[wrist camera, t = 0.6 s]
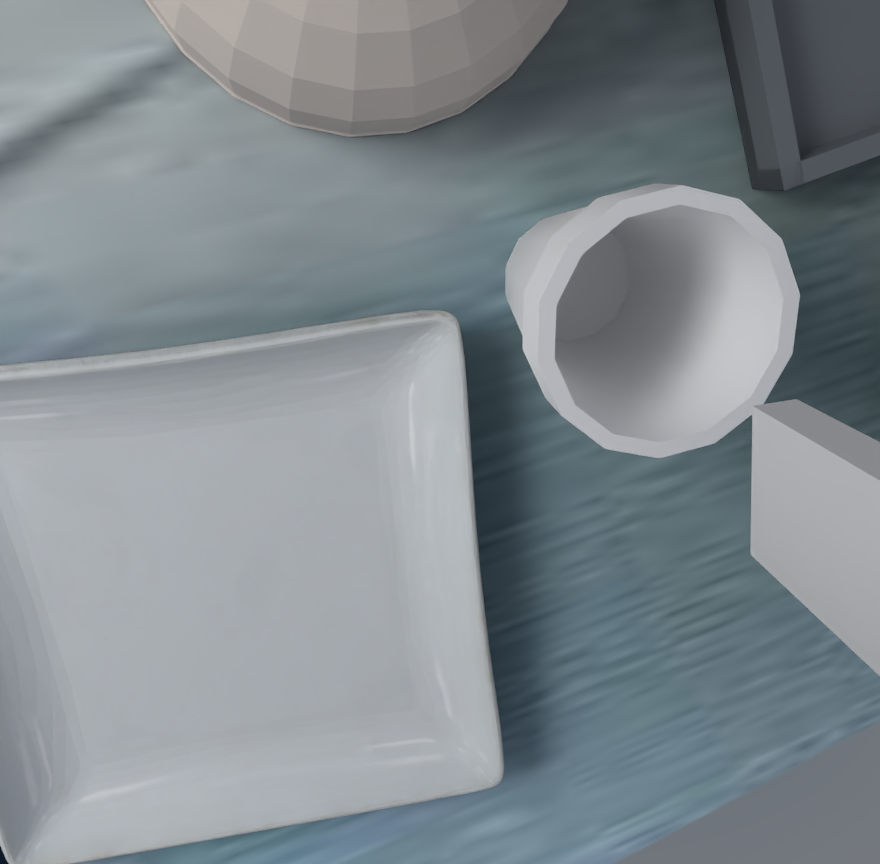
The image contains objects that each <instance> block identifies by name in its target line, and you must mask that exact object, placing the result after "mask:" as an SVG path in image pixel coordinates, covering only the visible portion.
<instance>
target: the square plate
mask: <svg viewBox="0 0 880 864" xmlns="http://www.w3.org/2000/svg"><path fill="white" fill-rule="evenodd" d="M503 777H504V754H503V743H502V734H501V726H500V718H499V711H498V704H497V697H496V690H495V683H494V676H493V669H492V662H491V655H490V647H489V639H488V630H487V622H486V615H485V607H484V598H483V589H482V580H481V571H480V561H479V549H478V538H477V527H476V513H475V499H474V485H473V470H472V454H471V438H470V423H469V408H468V393H467V380H466V367H465V356H464V349H463V342H462V335H461V331H460V327H459V324H458V321H457V319H456V318H455V316H454V315H453V314H451V313H449V312H447V311H443V310H420V311H412V312H404V313H396V314H388V315H380V316H372V317H366V318H360V319H354V320H348V321H342V322H336V323H330V324H323V325H317V326H310V327H303V328H297V329H291V330H285V331H279V332H273V333H266V334H259V335H252V336H245V337H238V338H232V339H225V340H219V341H212V342H205V343H198V344H191V345H183V346H175V347H167V348H159V349H151V350H143V351H134V352H126V353H117V354H108V355H99V356H89V357H80V358H70V359H60V360H50V361H39V362H28V363H16V364H4V365H0V846H1V849H2V851H3V853H4V855H5V858H6V860H7V862H8V863H9V864H73V863H79V862H85V861H90V860H96V859H102V858H108V857H114V856H120V855H125V854H131V853H137V852H143V851H149V850H154V849H160V848H166V847H172V846H177V845H183V844H188V843H194V842H200V841H205V840H211V839H216V838H222V837H228V836H233V835H239V834H244V833H250V832H256V831H261V830H267V829H273V828H278V827H284V826H290V825H295V824H301V823H307V822H313V821H318V820H324V819H330V818H335V817H341V816H346V815H352V814H358V813H363V812H369V811H374V810H380V809H385V808H391V807H396V806H402V805H407V804H413V803H418V802H424V801H429V800H434V799H439V798H444V797H450V796H456V795H461V794H466V793H471V792H476V791H480V790H484V789H488V788H491V787H494V786H496V785H498V784H499V783H500V782H501V781H502V780H503Z"/></svg>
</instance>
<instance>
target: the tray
mask: <svg viewBox="0 0 880 864" xmlns="http://www.w3.org/2000/svg"><path fill="white" fill-rule="evenodd" d="M714 1H715V6H716V11H717V16H718V21H719V26H720V31H721V36H722V41H723V46H724V51H725V56H726V60H727V65H728V70H729V75H730V80H731V85H732V90H733V95H734V100H735V105H736V110H737V115H738V120H739V125H740V130H741V135H742V140H743V145H744V150H745V155H746V160H747V165H748V170H749V174H750V179H751V184H752V189H763V190H779V191H785V190H788V189H791V188H793V187H796V186H799V185H801V184H804V183H807V182H809V181H812V180H815V179H818V178H820V177H823V176H826V175H828V174H831V173H834V172H836V171H839V170H842V169H845V168H847V167H850V166H853V165H855V164H858V163H861V162H863V161H866V160H869V159H872V158H874V157H877V156H880V0H714Z"/></svg>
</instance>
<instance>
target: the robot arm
mask: <svg viewBox="0 0 880 864" xmlns="http://www.w3.org/2000/svg"><path fill="white" fill-rule="evenodd" d="M751 555H752V556H753V557H754V558H755V559H756V560H757V561H758V562H759V563H760V564H761V565H762V566H763V567H764V568H765V569H767V570H768V571H769V572H770V573H771V574H772V575H773V576H774V577H775V578H776V579H777V580H778V581H779V582H780V583H781V584H782V585H784V586H785V587H786V588H787V589H788V590H789V591H790V592H791V593H792V594H793V595H794V596H795V597H796V598H797V599H798V600H799V601H801V602H802V603H803V604H804V605H805V606H806V607H807V608H808V609H809V610H810V611H811V612H812V613H813V614H814V615H815V616H816V617H818V618H819V619H820V620H821V621H822V622H823V623H824V624H825V625H826V626H827V627H828V628H829V629H830V630H831V631H832V632H833V633H835V634H836V635H837V636H838V637H839V638H840V639H841V640H842V641H843V642H844V643H845V644H846V645H847V646H848V647H849V648H850V649H852V650H853V651H854V652H855V653H856V654H857V655H858V656H859V657H860V658H861V659H862V660H863V661H864V662H865V663H866V664H867V665H869V666H870V667H871V668H872V669H873V670H874V671H875V672H876V673H877V674H878V675H879V676H880V442H878V441H876V440H875V439H873V438H871V437H869V436H867V435H865V434H863V433H861V432H859V431H857V430H855V429H853V428H851V427H849V426H847V425H846V424H844V423H842V422H840V421H838V420H836V419H834V418H832V417H830V416H828V415H826V414H824V413H822V412H820V411H819V410H817V409H815V408H813V407H811V406H809V405H807V404H805V403H803V402H801V401H799V400H797V399H794V400H788V401H781V402H775V403H768V404H762V405H755V406H753V411H752V485H751Z"/></svg>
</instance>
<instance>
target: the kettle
mask: <svg viewBox="0 0 880 864" xmlns="http://www.w3.org/2000/svg"><path fill="white" fill-rule="evenodd" d="M145 1H146V3H147V4H148V5H149V7H150V8H151V10H152V11H153V12H154V14H155V15H156V16H157V18H158V19H159V21H160V22H161V23H162V25H163V26H164V28H165V29H166V30H167V32H168V33H169V34H170V36H171V37H172V39H173V40H174V41H175V43H176V44H177V45H178V47H179V48H180V50H181V51H182V52H183V53H184V54H185V55H186V56H187V57H188V58H189V59H191V60H192V61H193V62H194V63H195V64H196V65H198V66H199V67H200V68H201V69H202V70H203V71H204V72H206V73H207V74H208V75H209V76H210V77H211V78H213V79H214V80H215V81H216V82H217V83H218V84H220V85H221V86H222V87H223V88H224V89H225V90H227V91H228V92H229V93H230V94H231V95H232V96H234V97H235V98H237V99H239V100H241V101H243V102H245V103H247V104H249V105H251V106H253V107H255V108H257V109H259V110H261V111H263V112H265V113H267V114H269V115H271V116H273V117H275V118H277V119H279V120H281V121H283V122H285V123H287V124H289V125H293V126H298V127H303V128H308V129H313V130H318V131H322V132H327V133H332V134H337V135H342V136H347V137H356V136H369V135H382V134H396V133H408V132H411V131H413V130H416V129H419V128H422V127H424V126H427V125H430V124H432V123H435V122H438V121H440V120H443V119H446V118H449V117H451V116H454V115H457V114H459V113H462V112H464V111H465V110H466V109H468V108H469V107H470V106H472V105H473V104H475V103H476V102H477V101H479V100H480V99H481V98H483V97H484V96H486V95H487V94H488V93H490V92H491V91H492V90H494V89H495V88H497V87H498V86H499V85H501V84H502V83H503V82H505V81H506V80H508V79H509V78H510V77H511V76H512V75H513V74H514V72H515V71H516V70H517V69H518V67H519V66H520V65H521V64H522V63H523V61H524V60H525V59H526V58H527V56H528V55H529V54H530V53H531V51H532V50H533V49H534V48H535V47H536V45H537V44H538V43H539V42H540V40H541V39H542V38H543V37H544V35H545V34H546V33H547V32H548V31H549V29H550V27H551V25H552V23H553V21H554V20H555V19H556V18H557V16H558V15H559V14H560V13H561V11H562V10H563V9H564V8H565V6H566V4H567V2H568V0H145Z"/></svg>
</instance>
